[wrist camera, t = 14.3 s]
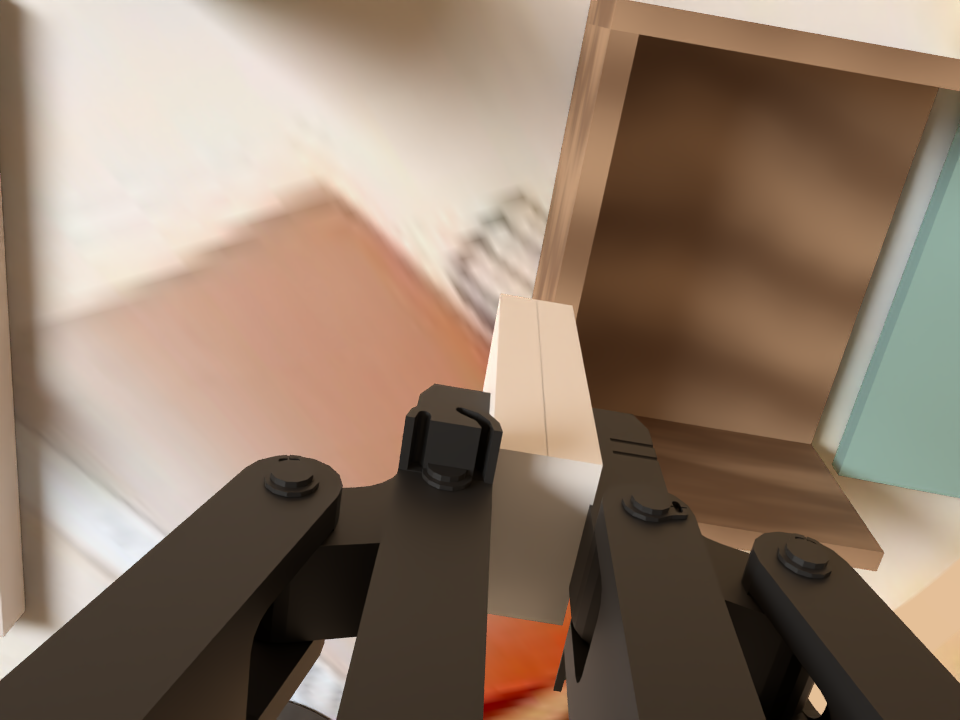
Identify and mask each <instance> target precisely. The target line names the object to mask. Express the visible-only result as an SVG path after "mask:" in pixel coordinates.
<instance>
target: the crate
mask: <svg viewBox="0 0 960 720" xmlns="http://www.w3.org/2000/svg"><path fill="white" fill-rule="evenodd" d="M939 87H940V88H945V89H951V90H956V91H960V59H955V58H949V57H943V56H938V55H932V54H926V53H921V52H915V51H910V50H904V49H898V48H893V47H887V46H882V45H876V44H870V43H865V42H859V41H854V40H848V39H842V38H837V37H831V36H826V35H820V34H814V33H809V32H803V31H798V30H792V29H786V28H781V27H775V26H770V25H764V24H758V23H753V22H747V21H742V20H736V19H730V18H725V17H719V16H714V15H708V14H702V13H697V12H691V11H685V10H680V9H674V8H669V7H663V6H657V5H652V4H646V3H641V2H635V1H629V0H591V3H590V8H589V13H588V18H587V23H586V28H585V33H584V38H583V43H582V48H581V53H580V58H579V63H578V68H577V73H576V78H575V84H574V89H573V94H572V99H571V104H570V109H569V114H568V119H567V124H566V129H565V134H564V139H563V144H562V149H561V154H560V159H559V165H558V170H557V175H556V180H555V185H554V190H553V195H552V200H551V205H550V210H549V215H548V220H547V225H546V230H545V235H544V240H543V246H542V251H541V256H540V261H539V266H538V271H537V276H536V281H535V286H534V291H533V296H532V299H536V300H542V301H548V302H554V303H560V304H566V305H572V306H573V311H574V316H575V321H576V327H577V332H578V337H579V342H580V348H581V353H582V358H583V363H584V369H585V374H586V379H587V385H588V390H589V395H590V400H591V406H592V408H598V409H604V410H610V411H616V412H622V413H628V414H633V415H634V416H635V417H636V418H637V419H638V420H639V421H640V422H641V423H642V424H643V425H644V426H645V427H646V428H647V429H648V430H649V433H650V436H651V439H652V443H653V448H654V449H655V452H656V455H657V461H658V462H659V465H660V468H661V471H662V474H663V478H664V481H665V484H666V487H667V490H668V493H670V494H672V495H674V496H676V497H678V498H679V499H680V500H681V501H683V502H684V503H685V504H687V505H688V506H689V508H690V509H691V511H692V512H693V514H694V515H695V517H696V520H697V523H698V526H699V528H700V531H701V534H702V535H703V536H705V537H706V538H709V539H711V540H713V541H716V542H718V543H721V544H723V545H726V546H729V547H732V548H735V549H742V550H748V551H751V549H752V547H753V544H754V541H755V539H756V538H758V537H759V536H761V535H762V534H764V533H770V532H785V533H796V534H800V535H804V536H805V537H806V538H807V537H810V538H812V539H815V540H817V541H818V542H819V543H821V544H823V545H824V546H826V547H828V548H830V549H832V550H833V551H835V552H836V553H837V554H838V555H839V556H841V557H842V558H843V559H844V560H845V561H847V562H848V563H849V565H850V566H851V567H853V568H859V569H866V570H872V571H877V569H878V566H879V564H880V562H881V559H882V557H883V555H884V552H883V550H882V549H881V547H880V546H879V544H878V543H877V541H876V540H875V538H874V537H873V535H872V534H871V532H870V531H869V529H868V528H867V526H866V525H865V523H864V522H863V520H862V519H861V518H860V516H859V515H858V513H857V512H856V510H855V509H854V507H853V506H852V504H851V503H850V501H849V500H848V498H847V497H846V495H845V494H844V492H843V491H842V489H841V488H840V486H839V485H838V483H837V482H836V480H835V479H834V477H833V476H832V475H831V473H830V472H829V470H828V469H827V467H826V466H825V464H824V463H823V461H822V460H821V458H820V457H819V455H818V454H817V452H816V451H815V449H814V448H813V446H812V445H811V443H812V440H813V438H814V435H815V432H816V429H817V426H818V424H819V421H820V418H821V415H822V412H823V410H824V407H825V404H826V401H827V399H828V396H829V393H830V390H831V387H832V385H833V382H834V379H835V376H836V373H837V371H838V368H839V365H840V362H841V359H842V357H843V354H844V351H845V348H846V346H847V343H848V340H849V337H850V334H851V332H852V329H853V326H854V323H855V320H856V318H857V315H858V312H859V309H860V306H861V304H862V301H863V298H864V295H865V292H866V290H867V287H868V284H869V281H870V279H871V276H872V273H873V270H874V267H875V265H876V262H877V259H878V256H879V253H880V251H881V248H882V245H883V242H884V239H885V237H886V234H887V231H888V228H889V226H890V223H891V220H892V217H893V214H894V212H895V209H896V206H897V203H898V200H899V198H900V195H901V192H902V189H903V186H904V184H905V181H906V178H907V175H908V172H909V170H910V167H911V164H912V161H913V159H914V156H915V153H916V150H917V147H918V145H919V142H920V139H921V136H922V133H923V131H924V128H925V125H926V122H927V119H928V117H929V114H930V111H931V108H932V106H933V103H934V100H935V97H936V94H937V92H938V89H939Z"/></svg>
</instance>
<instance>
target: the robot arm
mask: <svg viewBox="0 0 960 720" xmlns="http://www.w3.org/2000/svg"><path fill="white" fill-rule="evenodd" d="M342 486H343V485H342V482H341V479H340V475H339V474H338V473H337V472H336V471H334V470H333V469H332V468H331V467H330V466H329V465H326V464H324V463H322V462H319V461H317V460H315V459H311V458H305V457H301V456H296V455H290V456H287V455H282V456H274V457H270V458H266V459H262V460H258V461H257V462H255V463H253V464H251V465H249V466H248V467H246V468H245V469H244V470H242V471H241V472H240V473H239V474H238V475H237V476H235V477H234V478H233V479H232V480H231V481H230V482H229V483H227V484H226V485H225V486H224V487H223V488H222V489H221V490H219V491H218V492H217V493H216V494H215V495H214V496H212V497H211V498H210V499H209V500H208V501H207V502H206V503H204V504H203V505H202V506H201V507H200V508H199V509H197V510H196V511H195V512H194V513H193V514H192V515H191V516H189V517H188V518H187V519H186V520H185V521H184V522H182V523H181V524H180V525H179V526H178V527H177V528H176V529H174V530H173V531H172V532H171V533H170V534H169V535H168V536H166V537H165V538H164V539H163V540H162V541H161V542H159V543H158V544H157V545H156V546H155V547H154V548H153V549H151V550H150V551H149V552H148V553H147V554H146V555H144V556H143V557H142V558H141V559H140V560H139V561H138V562H136V563H135V564H134V565H133V566H132V567H131V568H130V569H128V570H127V571H126V572H125V573H124V574H123V575H121V576H120V577H119V578H118V579H117V580H116V581H115V582H113V583H112V584H111V585H110V586H109V587H108V588H106V589H105V590H104V591H103V592H102V593H101V594H100V595H98V596H97V597H96V598H95V599H94V600H93V601H91V602H90V603H89V604H88V605H87V606H86V607H85V608H83V609H82V610H81V611H80V612H79V613H78V614H77V615H75V616H74V617H73V618H72V619H71V620H70V621H68V622H67V623H66V624H65V625H64V626H63V627H62V628H60V629H59V630H58V631H57V632H56V633H55V634H53V635H52V636H51V637H50V638H49V639H48V640H47V641H45V642H44V643H43V644H42V645H41V646H40V647H38V648H37V649H36V650H35V651H34V652H33V653H32V654H30V655H29V656H28V657H27V658H26V659H25V660H24V661H22V662H21V663H20V664H19V665H18V666H17V667H15V668H14V669H13V670H12V671H11V672H10V673H9V674H7V675H6V676H5V677H4V678H3V679H2V680H0V720H327V719H325V718H324V717H322V716H320V715H318V714H317V713H315V712H313V711H311V710H308V709H306V708H304V707H301V706H299V705H296V704H293V703H290V702H289V700H290V699H291V697H292V696H293V694H294V693H295V691H296V690H297V688H298V687H299V685H300V684H301V682H302V681H303V679H304V678H305V676H306V675H307V673H308V672H309V670H310V669H311V668H312V666H313V665H314V663H315V662H316V660H317V659H318V657H319V656H320V653H321V651H322V648H323V645H324V641H325V639H336V638H347V637H357V638H356V642H355V646H354V650H353V654H352V658H351V662H350V666H349V670H348V674H347V678H346V682H345V687H344V691H343V695H342V699H341V703H340V707H339V711H338V715H337V719H336V720H483V704H484V680H485V656H486V633H487V614H493V615H500V616H506V617H513V618H519V619H525V620H532V621H538V622H544V623H551V624H557V625H563V621H564V617H565V613H566V609H567V605H568V601H569V597H570V606H571V617H572V618H571V622H570V626H569V630H568V634H567V638H566V642H565V646H564V650H563V653H562V657H561V661H560V665H559V669H558V673H557V677H556V681H555V686H554V690H553V691H560V692H561V690H562V687H563V683H564V680H566V683H567V697H568V711H569V720H960V683H959V682H958V681H957V680H956V679H955V678H954V677H953V676H952V674H951V673H950V672H949V671H948V670H947V669H946V668H945V667H944V666H943V665H942V664H941V663H940V662H939V660H938V659H937V658H936V657H935V656H934V655H933V654H932V653H931V652H930V651H929V650H928V649H927V648H926V646H925V645H924V644H923V643H922V642H921V641H920V640H919V639H918V638H917V637H916V636H915V635H914V634H913V633H912V631H911V630H910V629H909V628H908V627H907V626H906V625H905V624H904V623H903V622H902V621H901V620H900V618H899V617H898V616H897V615H896V614H895V613H894V612H893V611H892V610H891V609H890V608H889V607H888V606H887V604H886V603H885V602H884V601H883V600H882V599H881V598H880V597H879V596H878V595H877V594H876V593H875V591H874V590H873V589H872V588H871V587H870V586H869V585H868V584H867V583H866V582H865V581H864V580H863V579H862V577H861V576H860V575H859V574H858V573H857V572H856V571H855V570H854V569H853V568H852V567H851V566H850V565H849V563H848V562H847V561H845V560H844V559H843V558H842V557H841V556H839V555H838V554H837V553H836V552H835V551H833V550H832V549H830V548H828V547H826V546H824V545H823V544H821V543H819V542H818V541H817V540H815V539H812V538H810V537H807V538H806V537H805V536H804V535H800V534H796V533H785V532H770V533H764V534H762V535H761V536H759V537H758V538H756V539H755V541H754V544H753V547H752V549H751V552H750V554H749V553H746V552H743V551H740V550H738V549H735V548H732V547H729V546H726V545H723V544H721V543H718V542H716V541H713V540H711V539H709V538H706V537H705V536H703V535H702V534H701V531H700V528H699V526H698V523H697V520H696V517H695V515H694V514H693V512H692V511H691V509H690V508H689V506H688V505H687V504H685V503H684V502H683V501H681V500H680V499H679V498H678V497H676V496H674V495H672V494H670V493H668V490H667V487H666V484H665V481H664V478H663V474H662V471H661V468H660V465H659V462H658V461H657V455H656V452H655V449H654V448H653V443H652V439H651V436H650V433H649V430H648V429H647V428H646V427H645V426H644V425H643V424H642V423H641V422H640V421H639V420H638V419H637V418H636V417H635V416H634V415H633V414H628V413H622V412H616V411H610V410H604V409H598V408H592V406H591V400H590V395H589V390H588V385H587V379H586V374H585V369H584V363H583V358H582V353H581V348H580V342H579V337H578V332H577V327H576V321H575V316H574V311H573V306H572V305H566V304H560V303H554V302H548V301H542V300H536V299H530V298H524V297H518V296H512V295H506V294H500V300H499V305H498V311H497V316H496V322H495V327H494V333H493V338H492V344H491V349H490V355H489V360H488V366H487V371H486V377H485V382H484V388H483V392H482V391H475V390H469V389H463V388H457V387H451V386H445V385H439V384H434V385H433V386H431V387H430V388H428V389H427V390H426V391H424V392H423V393H421V394H420V397H419V401H418V405H417V406H416V407H414V408H412V409H411V410H410V411H409V413H408V414H407V415H406V419H405V426H404V433H403V440H402V447H401V454H400V461H399V468H398V472H397V474H396V475H395V476H394V477H393V478H391V479H389V480H387V481H385V482H383V483H380V484H376V485H372V486H366V487H356V488H342ZM814 682H815V684H816V685H817V687H818V688H819V689H820V690H821V692H822V694H823V696H824V697H825V700H826V702H827V706H826V708H825V710H824V712H823V714H822V715H820V714H819V713H818V711H816V709H815V708H814V707H813V705H812V704H811V702H810V701H809V699H808V697H809V695H810V692H811V690H812V687H813V685H814Z"/></svg>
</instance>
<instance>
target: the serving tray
mask: <svg viewBox="0 0 960 720" xmlns="http://www.w3.org/2000/svg"><path fill="white" fill-rule="evenodd" d="M24 611H25V596H24V579H23V561H22V544H21V526H20V509H19V491H18V473H17V456H16V438H15V421H14V403H13V386H12V368H11V351H10V333H9V316H8V298H7V281H6V263H5V245H4V228H3V210H2V193H1V175H0V637H4V636H5V635H6V634H7V632H8V631H9V630H10V629H11V627H12V626H13V625H14V624H15V623H16V621H17V620H18V619H19V618H20V616H21V615H22V614H23V613H24Z"/></svg>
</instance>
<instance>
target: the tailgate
mask: <svg viewBox="0 0 960 720" xmlns="http://www.w3.org/2000/svg"><path fill="white" fill-rule="evenodd" d="M832 465H833V467H834V469H835V470H836V472H837V474H838V475H840V476H845V477H850V478H856V479H861V480H866V481H872V482H877V483H882V484H887V485H893V486H898V487H903V488H909V489H914V490H919V491H925V492H930V493H935V494H940V495H946V496H951V497H956V498H960V123H959V125H958V128H957V131H956V133H955V136H954V139H953V141H952V144H951V147H950V149H949V152H948V155H947V157H946V160H945V163H944V165H943V168H942V171H941V173H940V176H939V179H938V181H937V184H936V187H935V190H934V192H933V195H932V198H931V200H930V203H929V206H928V208H927V211H926V214H925V216H924V219H923V222H922V224H921V227H920V230H919V232H918V235H917V238H916V240H915V243H914V246H913V248H912V251H911V254H910V257H909V259H908V262H907V265H906V267H905V270H904V273H903V275H902V278H901V281H900V283H899V286H898V289H897V291H896V294H895V297H894V299H893V302H892V305H891V307H890V310H889V313H888V315H887V318H886V321H885V324H884V326H883V329H882V332H881V334H880V337H879V340H878V342H877V345H876V348H875V350H874V353H873V356H872V358H871V361H870V364H869V366H868V369H867V372H866V374H865V377H864V380H863V382H862V385H861V388H860V391H859V393H858V396H857V399H856V401H855V404H854V407H853V409H852V412H851V415H850V417H849V420H848V423H847V425H846V428H845V431H844V433H843V436H842V439H841V441H840V444H839V447H838V449H837V452H836V455H835V458H834V460H833V463H832Z"/></svg>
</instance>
